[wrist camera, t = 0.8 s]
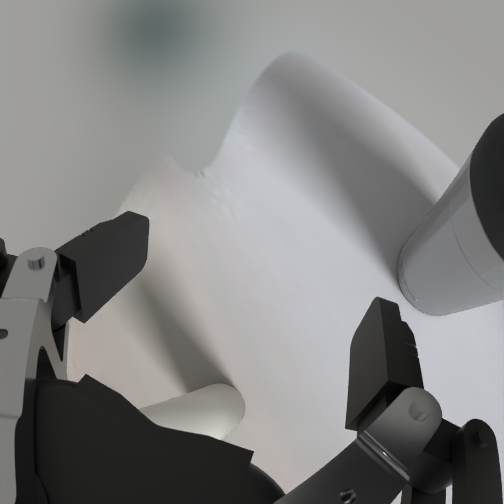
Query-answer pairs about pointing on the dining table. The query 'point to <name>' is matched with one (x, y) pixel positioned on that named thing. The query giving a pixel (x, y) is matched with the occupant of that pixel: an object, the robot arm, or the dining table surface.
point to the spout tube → (200, 411)
